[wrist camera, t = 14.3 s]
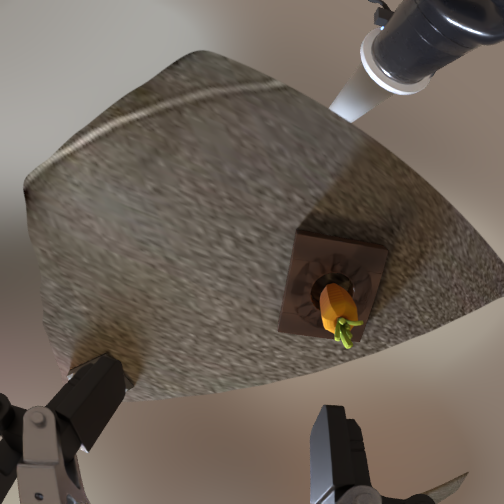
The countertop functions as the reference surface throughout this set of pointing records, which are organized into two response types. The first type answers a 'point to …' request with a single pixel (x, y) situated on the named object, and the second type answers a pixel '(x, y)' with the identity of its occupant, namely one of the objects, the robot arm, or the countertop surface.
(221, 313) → the countertop surface
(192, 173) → the countertop surface
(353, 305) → the carrot
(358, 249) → the socket board
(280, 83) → the countertop surface
